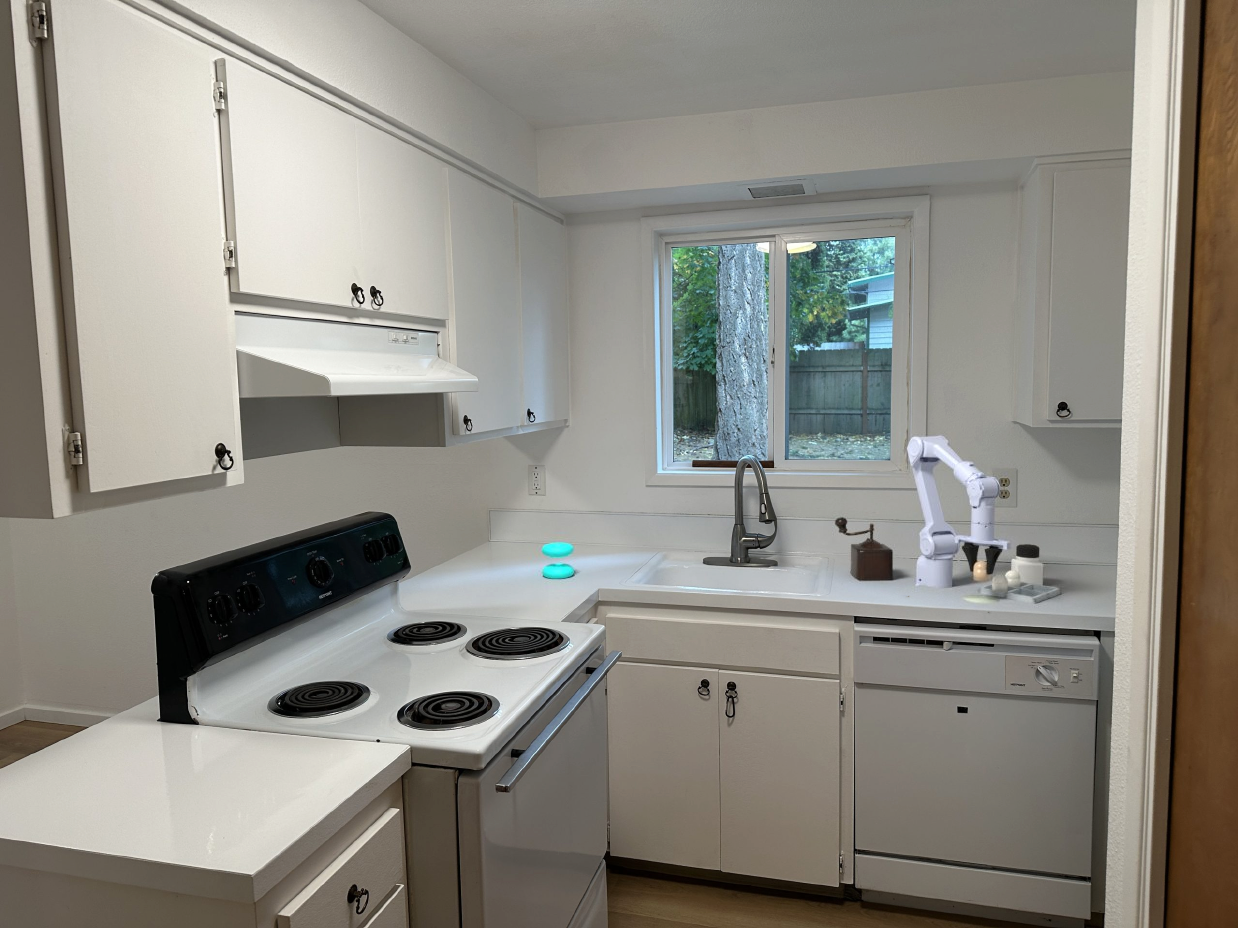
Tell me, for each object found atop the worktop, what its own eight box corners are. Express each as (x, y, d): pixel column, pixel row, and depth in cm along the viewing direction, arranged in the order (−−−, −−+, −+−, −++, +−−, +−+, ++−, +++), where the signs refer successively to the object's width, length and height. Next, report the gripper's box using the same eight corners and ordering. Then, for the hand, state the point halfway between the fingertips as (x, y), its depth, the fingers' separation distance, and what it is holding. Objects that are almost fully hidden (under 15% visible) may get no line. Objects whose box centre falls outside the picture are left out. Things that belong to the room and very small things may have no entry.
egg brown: (970, 579, 234) (970, 560, 233) (978, 577, 236) (978, 558, 236) (984, 582, 230) (984, 562, 230) (992, 579, 233) (992, 560, 232)
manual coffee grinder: (882, 572, 271) (883, 515, 269) (893, 580, 260) (894, 521, 258) (832, 573, 271) (833, 516, 269) (841, 581, 260) (842, 522, 258)
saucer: (956, 601, 234) (956, 598, 234) (973, 595, 240) (973, 593, 240) (988, 607, 228) (988, 604, 227) (1005, 601, 233) (1005, 599, 233)
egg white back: (1002, 588, 245) (1002, 570, 244) (1008, 586, 247) (1009, 568, 247) (1016, 590, 242) (1016, 572, 241) (1022, 588, 244) (1023, 570, 244)
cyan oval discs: (556, 540, 279) (580, 543, 273) (557, 571, 280) (580, 575, 274) (535, 545, 272) (558, 549, 265) (535, 576, 272) (559, 581, 266)
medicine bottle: (1043, 589, 247) (1044, 547, 245) (1016, 588, 248) (1017, 547, 247) (1036, 583, 253) (1037, 542, 252) (1010, 582, 255) (1011, 542, 254)
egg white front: (989, 592, 240) (989, 574, 240) (996, 590, 243) (996, 572, 242) (1003, 595, 237) (1003, 576, 236) (1010, 592, 240) (1010, 574, 239)
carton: (978, 595, 240) (978, 587, 240) (1005, 586, 250) (1005, 578, 250) (1034, 606, 229) (1034, 598, 228) (1060, 596, 238) (1060, 588, 238)
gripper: (1016, 523, 229) (1015, 574, 230) (964, 517, 240) (963, 566, 241) (1003, 527, 224) (1002, 578, 226) (951, 520, 235) (950, 569, 237)
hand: (981, 572), depth 233 cm, fingers closed on egg brown, 4 cm apart
